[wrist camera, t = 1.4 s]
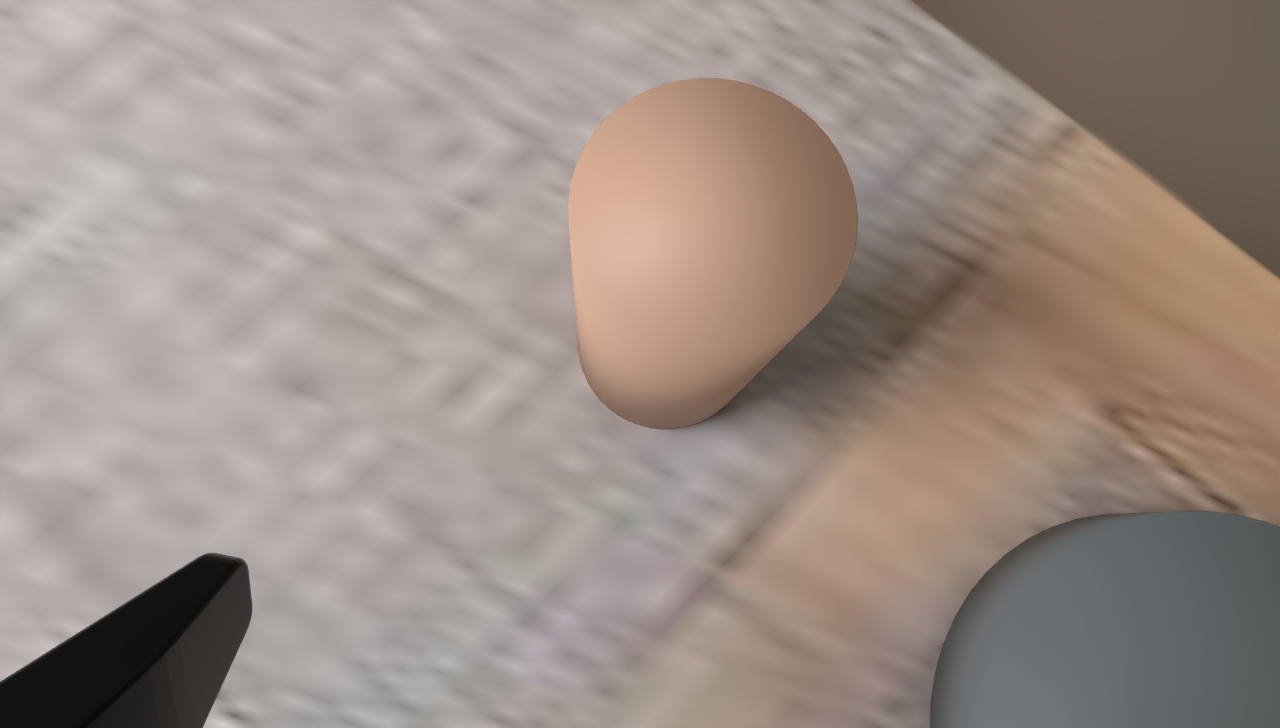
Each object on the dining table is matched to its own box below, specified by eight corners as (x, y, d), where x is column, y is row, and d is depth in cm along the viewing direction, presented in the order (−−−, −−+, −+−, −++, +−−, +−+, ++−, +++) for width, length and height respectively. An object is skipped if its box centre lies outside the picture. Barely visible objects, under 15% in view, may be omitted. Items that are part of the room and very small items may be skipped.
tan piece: (760, 421, 24) (877, 340, 14) (585, 436, 23) (580, 364, 14) (739, 255, 25) (836, 70, 15) (571, 266, 24) (557, 86, 15)
